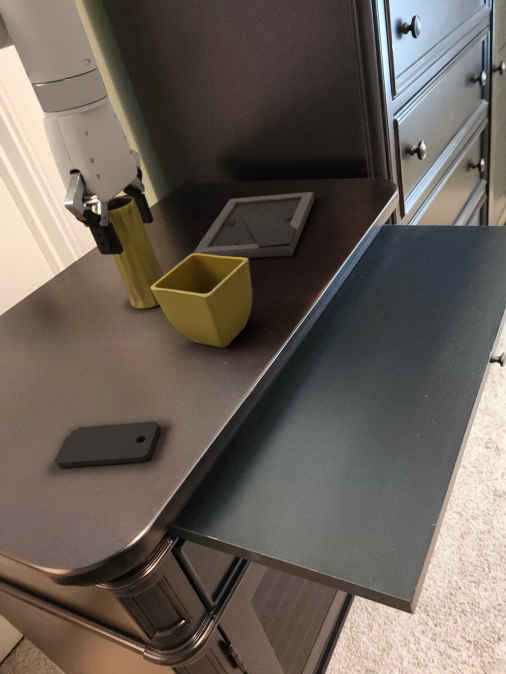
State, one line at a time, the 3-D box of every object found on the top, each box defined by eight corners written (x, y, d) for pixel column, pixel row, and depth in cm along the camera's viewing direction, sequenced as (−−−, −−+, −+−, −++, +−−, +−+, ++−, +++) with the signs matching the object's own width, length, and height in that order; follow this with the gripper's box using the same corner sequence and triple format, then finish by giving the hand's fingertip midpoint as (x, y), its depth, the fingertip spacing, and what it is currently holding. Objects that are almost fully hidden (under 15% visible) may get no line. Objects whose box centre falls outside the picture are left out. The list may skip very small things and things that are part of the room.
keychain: (71, 428, 56) (158, 420, 55) (74, 432, 57) (161, 425, 55) (52, 463, 53) (146, 456, 51) (56, 468, 53) (149, 461, 52)
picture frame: (292, 255, 80) (314, 200, 95) (290, 243, 79) (312, 189, 94) (196, 261, 84) (231, 207, 99) (192, 249, 83) (229, 196, 98)
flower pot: (172, 349, 66) (147, 286, 60) (211, 312, 72) (191, 251, 66) (228, 361, 62) (208, 296, 56) (265, 321, 68) (250, 257, 62)
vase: (179, 291, 78) (146, 195, 68) (151, 313, 74) (112, 215, 65) (151, 284, 80) (115, 192, 71) (122, 305, 77) (80, 211, 68)
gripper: (83, 79, 67) (133, 212, 78) (-3, 120, 54) (71, 270, 66) (135, 71, 64) (178, 209, 76) (57, 112, 52) (122, 268, 64)
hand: (128, 237), depth 71 cm, fingers open, 8 cm apart
